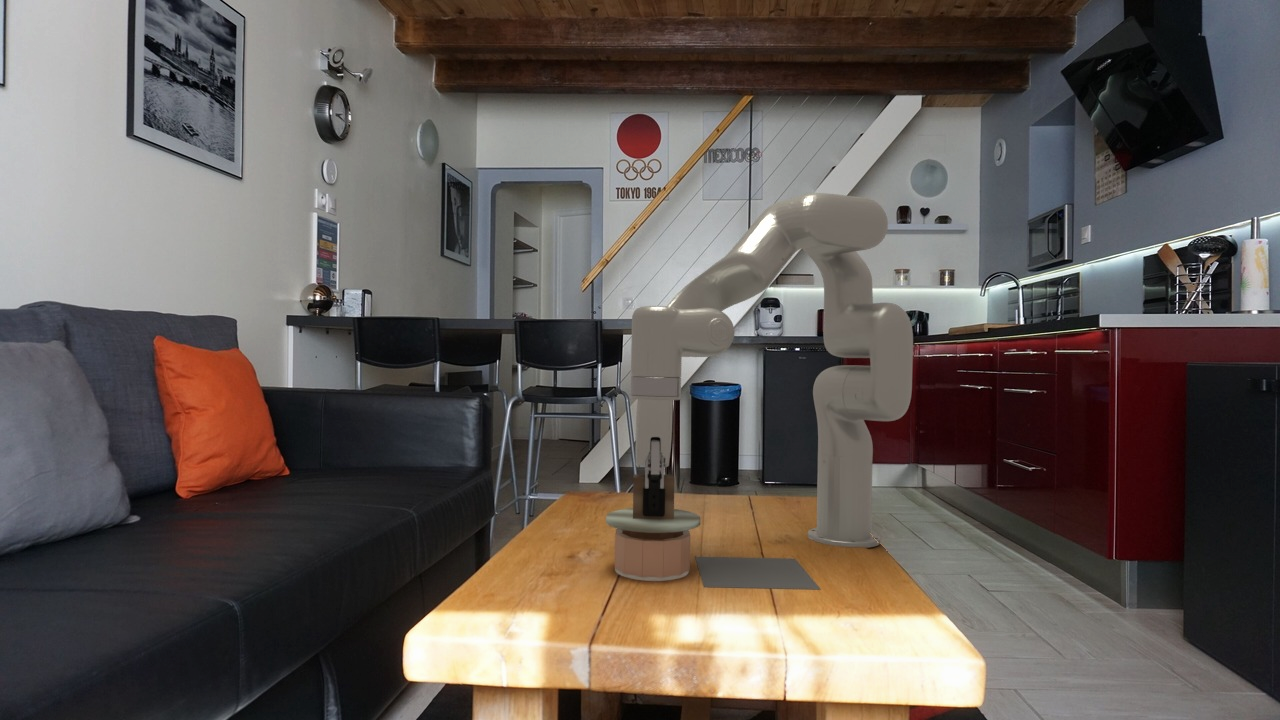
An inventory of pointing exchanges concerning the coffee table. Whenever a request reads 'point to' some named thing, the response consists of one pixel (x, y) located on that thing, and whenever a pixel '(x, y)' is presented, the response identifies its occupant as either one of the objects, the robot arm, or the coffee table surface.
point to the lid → (651, 524)
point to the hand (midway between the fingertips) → (653, 512)
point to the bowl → (652, 555)
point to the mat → (754, 573)
